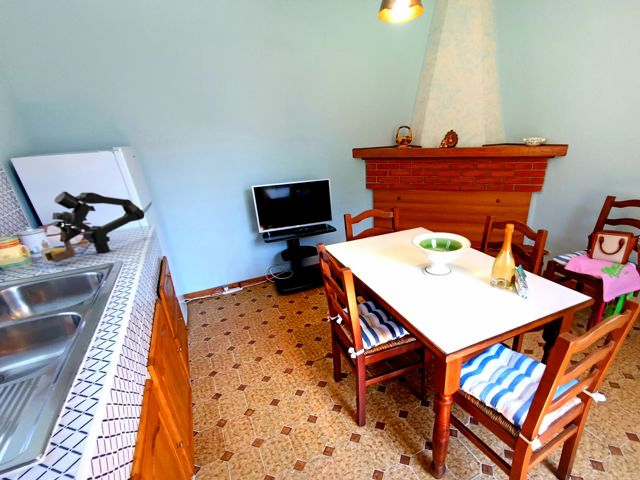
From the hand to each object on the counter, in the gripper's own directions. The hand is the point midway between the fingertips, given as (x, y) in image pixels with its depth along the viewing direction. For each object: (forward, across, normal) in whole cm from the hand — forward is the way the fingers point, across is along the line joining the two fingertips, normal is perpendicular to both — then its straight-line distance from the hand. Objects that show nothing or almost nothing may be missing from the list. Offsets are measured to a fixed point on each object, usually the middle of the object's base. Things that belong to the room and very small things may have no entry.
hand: (63, 241), depth 145 cm
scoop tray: (+7, 0, +4) cm, 8 cm away
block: (+7, 0, +2) cm, 8 cm away
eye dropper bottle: (+9, -13, +7) cm, 18 cm away
